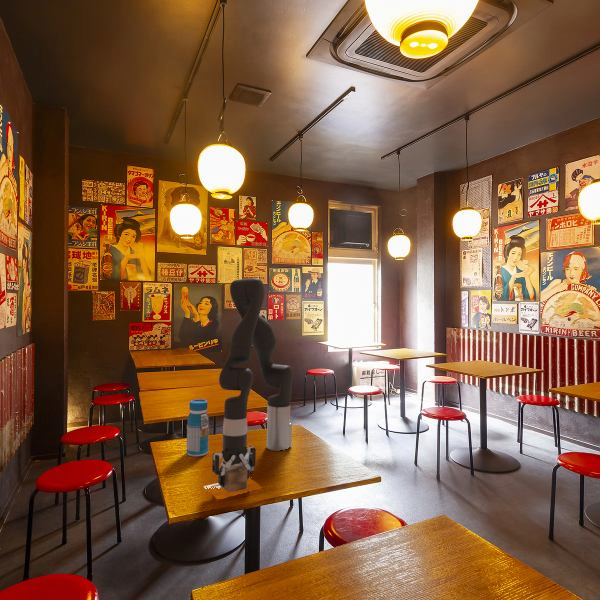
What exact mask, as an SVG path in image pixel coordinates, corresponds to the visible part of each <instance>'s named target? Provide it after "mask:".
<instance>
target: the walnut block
mask: <svg viewBox="0 0 600 600" xmlns="http://www.w3.org/2000/svg"><path fill="white" fill-rule="evenodd" d="M224 475H225V487H223V488H224V489H225V490H227V491H228V492H229V493H230V492H234V491H239V490H244V489H247V469H246V468H245V467H243V466H242V465H241V464H234V465H230V467H229V468H228V469H227V470H226V472H225V474H224Z"/></svg>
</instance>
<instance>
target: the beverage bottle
mask: <svg viewBox="0 0 600 600" xmlns="http://www.w3.org/2000/svg"><path fill="white" fill-rule="evenodd" d="M207 410H208V400H207V399H204V398H203V399H192V400H190V401H189V411H190V412H189V413H188V415H187V417H186V418H187V419H186V420H187V423H186V455H188V456H190V457H202V456H206V455H207V454H208V453H209V435H210V422H209V420H210V416H209V414H208V412H207Z"/></svg>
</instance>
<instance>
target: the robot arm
mask: <svg viewBox="0 0 600 600" xmlns="http://www.w3.org/2000/svg"><path fill="white" fill-rule="evenodd" d="M229 293H230V297H231V299H232V302H233V305H234V306H235V309H236V310H237V312H238V314H239V316H240V319H241V321H240V322H239V323H238V324H237V326H236V327H235V328H234V330H233V332H232V336H231V339H230V346H229V351H228V355H227V358H226V359H225V363H224V365H223V367H222V369H221V371H220V374H219V376H218V377H219V378H218V382H219V383H218V384H219V387H220V388H221V389H222V390H224V391H240V393H239V395H236V396H230V397H227V398H226V399H225V401H224V407H223V408H224V411H223V412H224V413H223V415H224V416H223V423H222V451H221V452H219V453H216V452H213V453H212V461H211V462H212V465H211V468H212V469H211V471H212V473H213V474H215V475H216V476H217V475H218V477H217V483H218V484H219V485H220V486H221V487H225V475H224V474H225V472H226V470H227V469H228V468H229V467H230V465H234V464H240V463H242V465H243V466H244V467H245V468H246V469H247V481H248V479H249V476H250V473H251V471H250V468H251V467H254V468H255V467H256V457H257V456H256V455H257V454H256V453H257V452H256V451H257V448H256V447H254V446H253V445H249V447H247V446H248V417H247V416H248V415H247V414H248V409H247V408H248V401H249V395H250V392H251V390H252V389H251V388H252V386H253V383H254V373H253V372H252V370H251V369H250V368H247V367H237V366H238V365H240V364H241V365H242V364H244V363H248V362H249V361H250V360H251V358H252V357H251V356H252V347H253V349H254V352H255V355H256V357H257V358H256V359H257V360H258V363H259V367H260V370H261V374H262V378H263V381H264V383H265V385H266V386H268V387H270V388H277V389H279V393H277V394H273V395H270V396H269V397H268V398H267V410H266V411H267V413H266V414H267V415H266V418H267V419H266V420H267V421H266V448H267V450H270V451H273V452H281V451H280V450H283V451H286V450H285V449H287V448H289V447H290V448H292V439H293V434H292V433H293V424H292V423H291V402H292V401H291V400H292V392H293V381H294V380H293V378H294V376H293V374H294V373H293V369H292V367H291V365H285V364H277V363H274V362H273V359H272V355H273V353H274V351H275V349H276V345H277V339H276V334H275V332H274V329H273V327H272V325H271V324H270V322H268V321H267V320H266V319H265V318H264V317H262V315H261V310H262V308H263V304H264V299H265V285H264V282H263V281H262V279H260V278H258V277H251V278H242V279H241V278H240V279H235V280H233V281H232V282H231V283H230V286H229ZM290 448H289V449H290ZM287 450H288V449H287ZM247 453H248V454H249V462H247V461H246V459H245V458H244V457H245V455H246V454H247ZM222 458H223V459H222ZM221 459H222V460H221ZM220 461H221V462H220Z"/></svg>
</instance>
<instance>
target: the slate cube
mask: <svg viewBox="0 0 600 600" xmlns="http://www.w3.org/2000/svg"><path fill="white" fill-rule="evenodd" d="M244 458H245V459H246V461H247V462H249V454H248V452H247V454H246V455H245V457H244ZM240 464H241V465H242V463H240ZM242 466H243V465H242ZM243 467H244V466H243ZM254 471H255V466H254V467H251V468H250V472H254Z"/></svg>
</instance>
